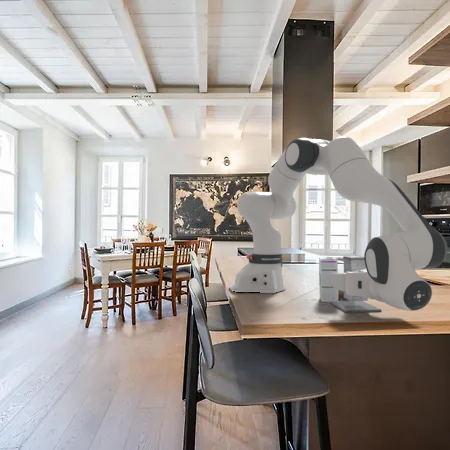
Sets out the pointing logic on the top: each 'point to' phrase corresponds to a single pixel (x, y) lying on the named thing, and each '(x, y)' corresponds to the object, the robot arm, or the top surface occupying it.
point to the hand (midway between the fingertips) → (353, 275)
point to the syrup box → (327, 279)
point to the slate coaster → (355, 306)
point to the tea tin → (354, 265)
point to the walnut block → (341, 295)
